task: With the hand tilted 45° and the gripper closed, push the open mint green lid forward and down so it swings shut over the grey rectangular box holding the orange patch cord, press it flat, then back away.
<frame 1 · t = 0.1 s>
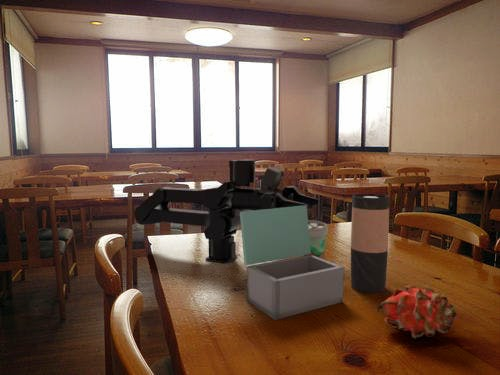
hand: (313, 204, 92), 17 cm above the table, tool horizontal, fingers open, 9 cm apart
dragon fruit: (414, 334, 64), on the table
travel mug: (367, 287, 84), on the table
mint green lid: (276, 233, 81), point 12 cm above the table, hinge at 100.0°
food container: (316, 262, 102), on the table
grey rectangular box: (280, 292, 81), on the table
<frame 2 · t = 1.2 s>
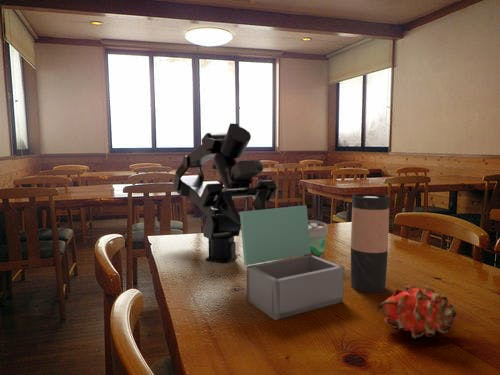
hand: (252, 221, 89), 13 cm above the table, tool tilted 45°, fingers open, 7 cm apart
nothing on the table moved.
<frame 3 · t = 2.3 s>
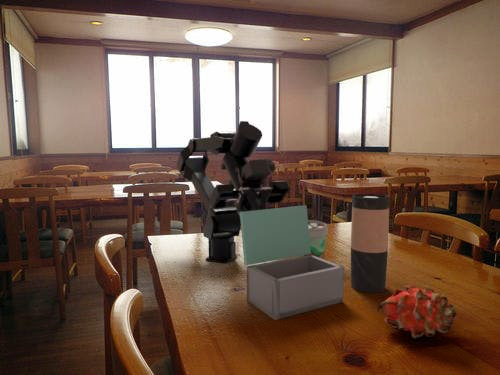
hand: (265, 223, 84), 14 cm above the table, tool tilted 45°, fingers closed
nothing on the table moved.
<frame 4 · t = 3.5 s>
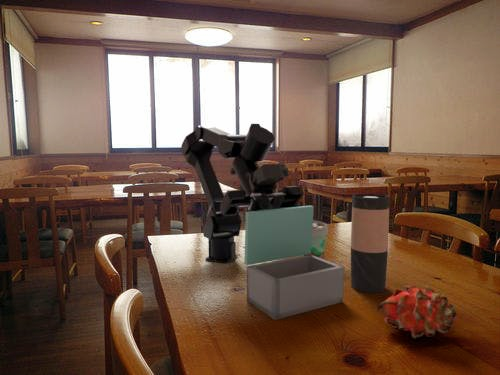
hand: (278, 231, 80), 13 cm above the table, tool tilted 45°, fingers closed, pressing on mint green lid
mint green lid: (280, 234, 79), point 12 cm above the table, hinge at 86.3°, touching gripper
everything else where it was.
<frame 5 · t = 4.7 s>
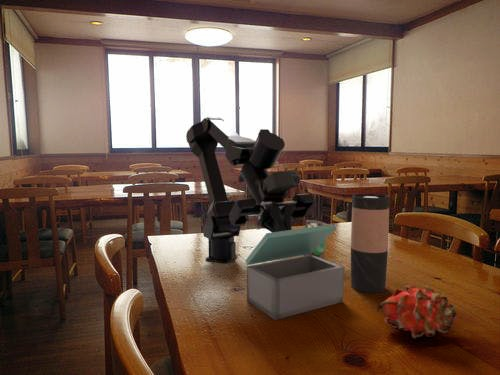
hand: (290, 241, 77), 12 cm above the table, tool tilted 45°, fingers closed, pressing on mint green lid
mint green lid: (290, 244, 76), point 11 cm above the table, hinge at 42.3°, touching gripper
everything else where it was.
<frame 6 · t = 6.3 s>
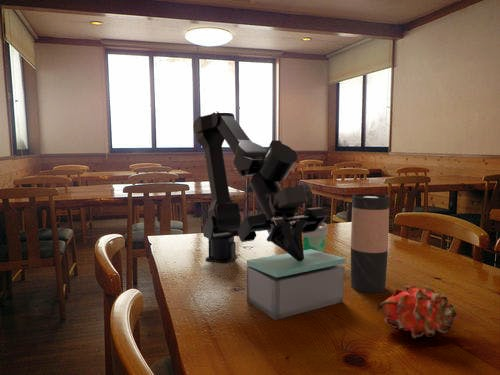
hand: (301, 260, 74), 9 cm above the table, tool tilted 45°, fingers closed, pressing on mint green lid
mint green lid: (295, 261, 75), point 8 cm above the table, hinge at 3.8°, touching gripper
everything else where it was.
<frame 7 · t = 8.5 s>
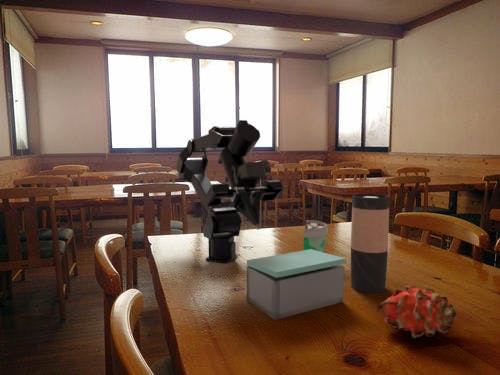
hand: (257, 224, 87), 13 cm above the table, tool tilted 40°, fingers closed
mint green lid: (295, 261, 75), point 8 cm above the table, hinge at 3.5°
everything else where it was.
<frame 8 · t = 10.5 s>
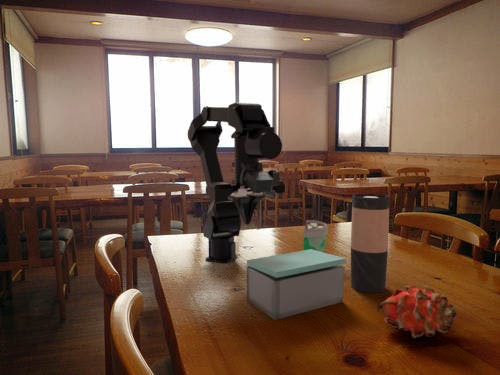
hand: (246, 224, 91), 12 cm above the table, tool pointing down, fingers closed
nothing on the table moved.
at the end: mint green lid at +4° (first picture: +100°); travel mug moved 0.2 cm from its start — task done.
